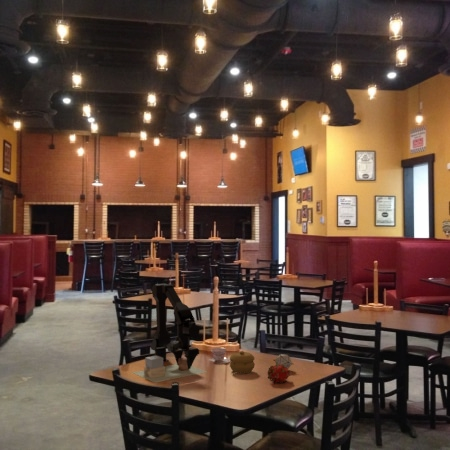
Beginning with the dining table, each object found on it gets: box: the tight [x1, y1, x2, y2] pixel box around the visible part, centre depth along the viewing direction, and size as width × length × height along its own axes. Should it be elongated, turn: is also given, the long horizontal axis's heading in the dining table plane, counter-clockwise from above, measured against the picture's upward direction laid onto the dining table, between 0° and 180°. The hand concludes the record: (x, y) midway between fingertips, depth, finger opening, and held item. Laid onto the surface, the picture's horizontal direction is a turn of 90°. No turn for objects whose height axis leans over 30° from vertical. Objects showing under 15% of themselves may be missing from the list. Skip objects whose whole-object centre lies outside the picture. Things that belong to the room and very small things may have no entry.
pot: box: [229, 350, 256, 375], centre depth 245 cm, size 12×12×10 cm
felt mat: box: [131, 363, 207, 383], centre depth 246 cm, size 22×28×1 cm
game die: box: [273, 352, 294, 369], centre depth 247 cm, size 9×8×10 cm
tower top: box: [144, 355, 164, 369], centre depth 241 cm, size 6×6×4 cm
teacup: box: [208, 347, 231, 365], centre depth 268 cm, size 12×12×6 cm
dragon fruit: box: [267, 364, 290, 384], centre depth 228 cm, size 8×8×12 cm
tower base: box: [143, 365, 166, 378], centre depth 241 cm, size 7×7×4 cm
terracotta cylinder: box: [179, 357, 189, 371], centre depth 250 cm, size 5×5×5 cm
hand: (183, 367), depth 250 cm, fingers open, 9 cm apart
